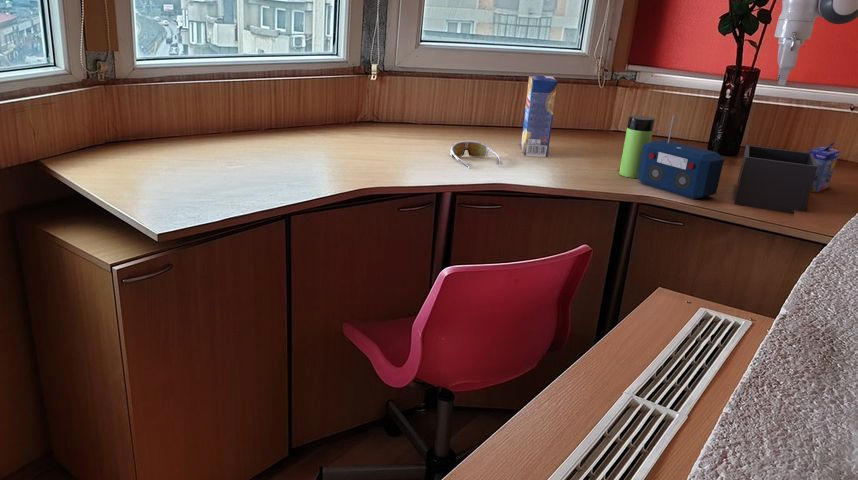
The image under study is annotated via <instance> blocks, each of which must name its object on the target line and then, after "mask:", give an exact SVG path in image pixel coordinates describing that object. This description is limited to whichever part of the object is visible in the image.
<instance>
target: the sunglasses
mask: <svg viewBox="0 0 858 480" xmlns="http://www.w3.org/2000/svg"><path fill="white" fill-rule="evenodd" d="M466 151H467V154H468V156H469V157H471V158H487V157H488V153H489V152H490V153H492V154H493V155H495V156H496V158H497V159H498V168H500V167H501V158H500V156H499V154H498V153H497V152H496V151H495V150H493V149H492V148H491V147H490V146H489V145H487V144H485V143H482V142H481V141H475V140H461V141H457V142H455V143H454V144H452V145H451V147H450V152H449V153H450V154H449V155H450V158H451V159H456V160H457V161H459V162H460V163H461V164H462V165H463V166H464V167H465V168H467V169H470V168H471V167H470V166H469V165H468V164H467V163H465V161H463V160H462V159H461V158H462V157H463V156H464V155H465V152H466Z"/></svg>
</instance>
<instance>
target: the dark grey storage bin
mask: <svg viewBox="0 0 858 480" xmlns="http://www.w3.org/2000/svg"><path fill="white" fill-rule="evenodd" d="M740 165H741V166H740V169H739V174H738V178H737V182H736V186H735V193H734V201H733V202H734V204H733V205H738V206H745V207H751V208H756V207H757V209H763V210H768V211H769V210H770V211H775V210H776V212H782V213H789V214H795V211H799V212H806V209H807V206H808V202H809V199H810V195H811V188H812V185H813V181H814V178H815V174H816V170H817V164H816V162H815V159H814V156H813V153H809V152H804V151H796V150H788V149H782V148H781V149H780V148H773V147H765V146H757V145H750V144H746V145H745V148H744V153H743V157H742V160H741V164H740Z"/></svg>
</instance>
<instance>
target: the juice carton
mask: <svg viewBox="0 0 858 480" xmlns="http://www.w3.org/2000/svg"><path fill="white" fill-rule="evenodd" d="M557 89H558V80H557V79H556V78H555V77H553V76H552V75H551V76H550V75H534V74H529V75H528V81H527V91H526V99H525V107H524V115H523V122H522V123H523V124H522V131H521V139H520V149H521V152H522V154H523V156H524V157H539V158H548V155H549V149H550V148H549V147H550V142H551V133H552V127H553V119H554V110H555V104H556V103H555V102H556V97H557Z"/></svg>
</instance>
